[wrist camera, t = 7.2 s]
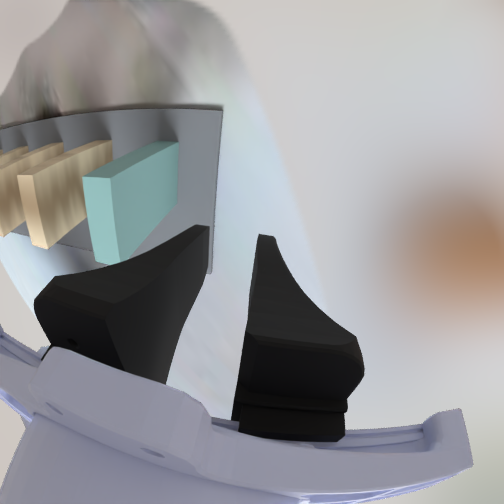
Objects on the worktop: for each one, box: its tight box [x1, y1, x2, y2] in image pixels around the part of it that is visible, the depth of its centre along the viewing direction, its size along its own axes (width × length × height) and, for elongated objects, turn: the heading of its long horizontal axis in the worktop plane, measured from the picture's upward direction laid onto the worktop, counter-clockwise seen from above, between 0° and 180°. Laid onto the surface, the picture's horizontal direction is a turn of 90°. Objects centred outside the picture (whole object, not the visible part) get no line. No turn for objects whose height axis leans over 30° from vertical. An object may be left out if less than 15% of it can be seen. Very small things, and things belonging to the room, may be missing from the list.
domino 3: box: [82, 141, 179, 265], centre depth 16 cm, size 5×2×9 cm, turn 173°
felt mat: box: [0, 108, 223, 274], centre depth 22 cm, size 14×31×1 cm, turn 83°
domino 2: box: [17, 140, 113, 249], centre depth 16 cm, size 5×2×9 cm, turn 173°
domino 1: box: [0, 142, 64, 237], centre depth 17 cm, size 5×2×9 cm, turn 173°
